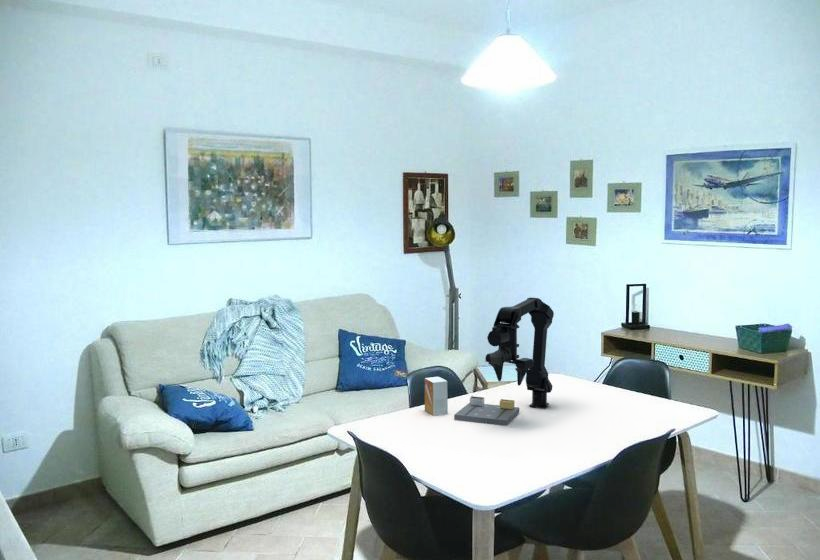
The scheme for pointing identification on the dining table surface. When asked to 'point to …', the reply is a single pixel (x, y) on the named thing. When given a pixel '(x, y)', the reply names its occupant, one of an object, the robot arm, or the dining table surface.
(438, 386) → the small box
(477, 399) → the block
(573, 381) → the dining table surface
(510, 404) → the amber fader
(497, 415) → the mixing board
